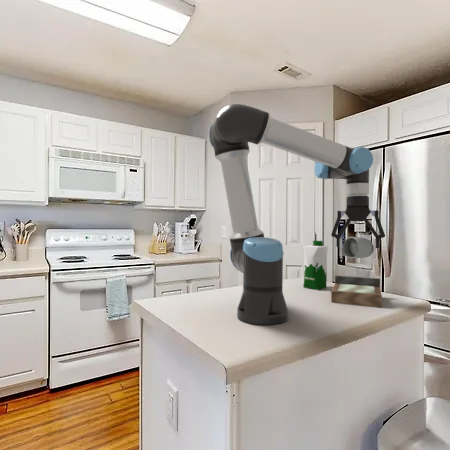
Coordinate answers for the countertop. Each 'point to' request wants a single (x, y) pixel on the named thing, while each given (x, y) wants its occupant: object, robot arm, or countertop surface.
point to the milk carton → (315, 265)
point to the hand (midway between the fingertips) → (357, 256)
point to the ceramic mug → (357, 247)
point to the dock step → (357, 291)
